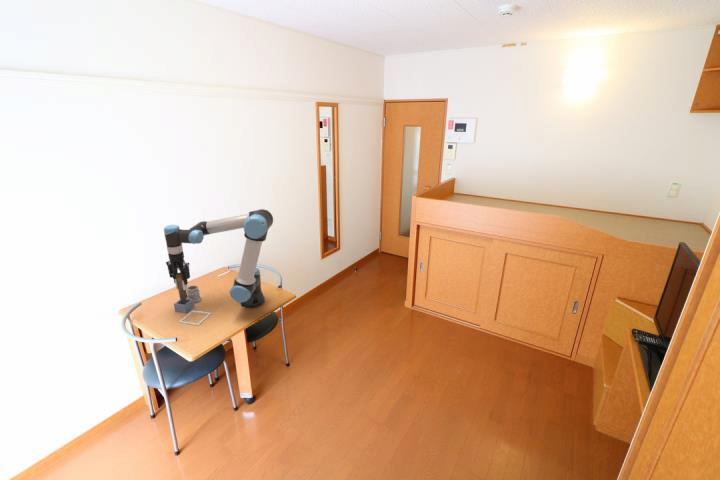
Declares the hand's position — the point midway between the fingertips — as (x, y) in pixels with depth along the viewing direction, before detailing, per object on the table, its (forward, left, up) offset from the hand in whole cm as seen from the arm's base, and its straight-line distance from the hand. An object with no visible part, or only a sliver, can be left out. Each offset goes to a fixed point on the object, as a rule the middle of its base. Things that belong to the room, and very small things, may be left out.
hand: (182, 288), depth 196 cm
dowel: (0, 0, -6) cm, 6 cm away
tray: (-12, +7, -15) cm, 20 cm away
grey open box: (0, 0, -15) cm, 15 cm away
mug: (+3, -10, -15) cm, 18 cm away
